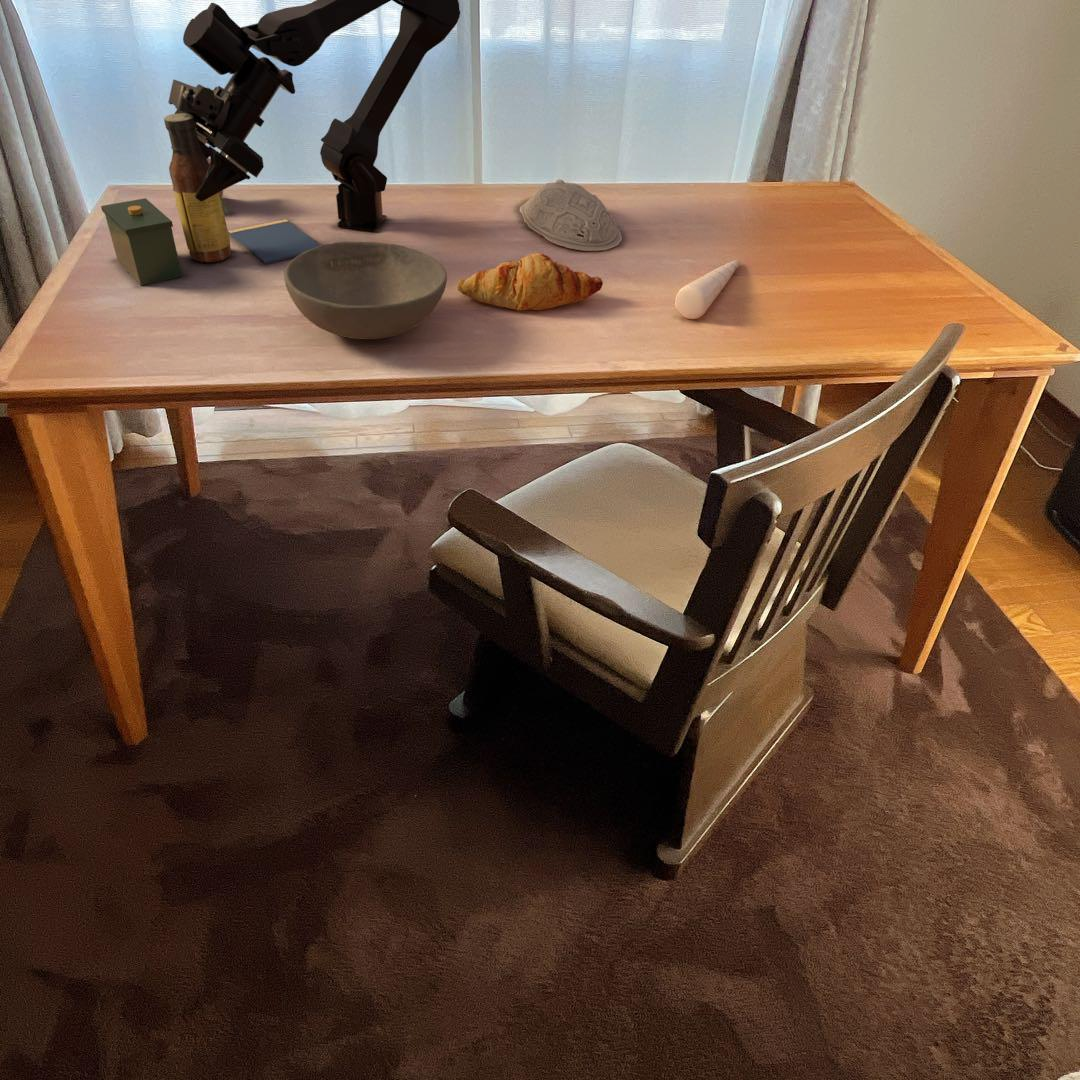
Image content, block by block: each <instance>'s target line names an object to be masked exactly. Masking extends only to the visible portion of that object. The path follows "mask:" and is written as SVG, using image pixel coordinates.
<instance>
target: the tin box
mask: <svg viewBox="0 0 1080 1080" xmlns="http://www.w3.org/2000/svg"><path fill="white" fill-rule="evenodd" d="M100 208H101V211H102V213H103V214H104V216H105V219H106V222H107V227H108V231H109V234H110V238H111V241H112V246H113V249H114V252H115V256H116V260H117V262H118V263H119V264H120V265H121V266H122V267H123V268H124V270H125V271H127V272H128V274H129V275H130V276H131V277H132V278H133V279H134V280H135V281H136V282H137V283H138V284H139V285H140V286H146V285H151V284H154V283H160V282H164V281H169V280H172V279H177V278H182V277H183V274H182V269H181V265H180V260H179V255H178V251H177V246H176V242H175V238H174V233H173V229H172V228H173V227H174V224H173V221H172V220H171V219H170V218H169V217H168V216H167V215H166V214H164V212H162V211H161V210H160V209H159V208H158V207H156V206H155V204H153V203H152V202H151V201H150V200H148V199H147V198H138V199H133V200H127V201H121V202H116V203H109V204H104V205H101V206H100Z"/></svg>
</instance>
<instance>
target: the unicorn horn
mask: <svg viewBox="0 0 1080 1080" xmlns="http://www.w3.org/2000/svg"><path fill="white" fill-rule="evenodd" d="M739 264H740V260H739V259H735V260H732V261H730V262H727V263H726V264H725V263H724V264H723V265H721V266H719V267H717V268H715V269H713V270H711V271H710V272H708V273H706V274H704V275H702V276H701V277H699V278H696V279H695V280H693V281H691V282H690V283H687V284H686V285H684V286H683V287H682V288H680V289H679V290H678V292H677V294H676V295H675V300H674V304H675V310H676V311H677V313H678V314H679V315H681V317H684V318H686V319H688V320H698V319H700V318H701V317H702V316H704V315H705V313H706V312H707V311H708V309H709V308H710V307H711V305H712V304H713V302H714V301H715V300H716V299H717V297H718V295H720V293H721V292H722V291H723V289H724V287H726V285H727V283H728V282H729V280H730V279H731V277H732V276H733V275H734V273H735V271H736V270H737V268H738V266H739Z"/></svg>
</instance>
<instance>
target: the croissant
mask: <svg viewBox="0 0 1080 1080" xmlns="http://www.w3.org/2000/svg"><path fill="white" fill-rule="evenodd" d="M603 284H604V281H603V280H602V278H601V277H599V276H589V274H587V273H586V272H583V271H580V270H576V271H573V269H570V267H569V266H568V265H566V264H563V263H560V262H558V261H554V260H553V259H552V258H551V257H550V256H549V255H547V254H544V253H540V252H533V253H530V254H527V255H525V256H522V257H521V258H520V259H519V260H518V261H517V260H513V261H512V260H510V261H505V262H502V263H499V264H498V265H497V266H496V267H494V268H491V269H487V270H479V271H477V272H475V273H474V274H472V275H471V276H470V277H469V278H461V279H459V281H458V282H457V283H456V285H457V291H458V292H459V293H461V294H462V295H464V296H465V297H468V298H469V299H473V300H476V301H478V302H481V303H484V304H489V305H493V306H495V307H496V306H497V307H500V308H506V309H511V310H514V311H515V310H516V311H525V310H527V311H529V310H530V311H541V310H549V309H552V308H554V307H559V306H563V305H567V304H568V305H569V304H574V303H577V302H581V301H584V300H587V299H588V298H590V297H592V296H593V295H595V294H596V293H598V292H599V291H601V290H602V288H603Z"/></svg>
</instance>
